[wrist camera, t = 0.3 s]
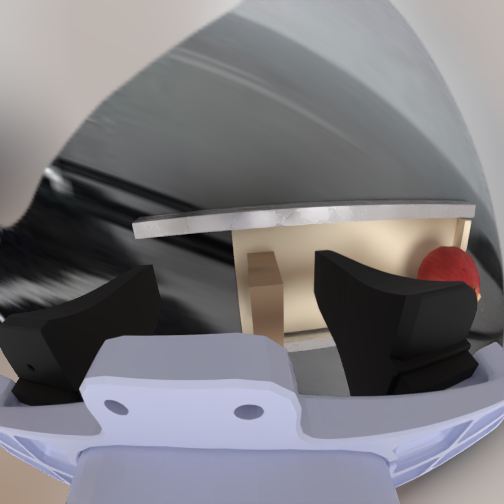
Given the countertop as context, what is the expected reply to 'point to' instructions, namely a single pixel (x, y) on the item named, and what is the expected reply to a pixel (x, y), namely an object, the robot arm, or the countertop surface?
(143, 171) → the countertop surface
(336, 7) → the countertop surface
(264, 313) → the cream shallow tray
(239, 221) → the guide rails
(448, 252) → the onion
